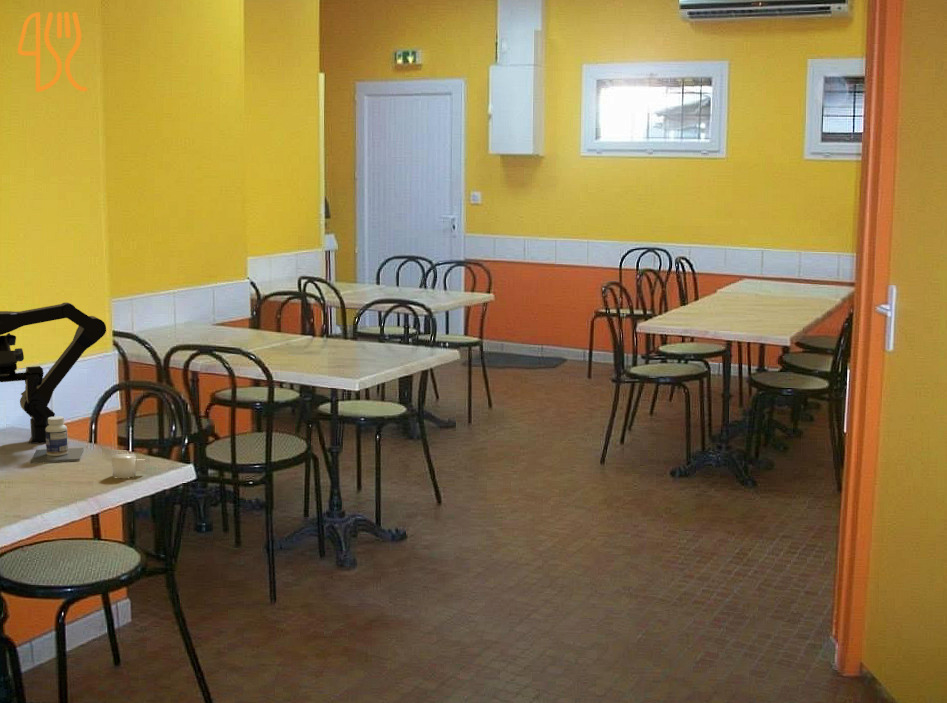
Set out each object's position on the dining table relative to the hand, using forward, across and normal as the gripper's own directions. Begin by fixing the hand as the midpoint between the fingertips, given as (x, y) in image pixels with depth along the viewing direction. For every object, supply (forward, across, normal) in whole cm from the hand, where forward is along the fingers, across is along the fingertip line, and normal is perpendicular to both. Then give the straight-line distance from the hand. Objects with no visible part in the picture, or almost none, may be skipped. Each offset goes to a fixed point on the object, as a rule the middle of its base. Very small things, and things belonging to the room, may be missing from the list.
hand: (10, 404), depth 308 cm
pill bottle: (+14, +10, +4) cm, 18 cm away
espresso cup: (+34, +21, -15) cm, 43 cm away
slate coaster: (+15, +10, +5) cm, 18 cm away
